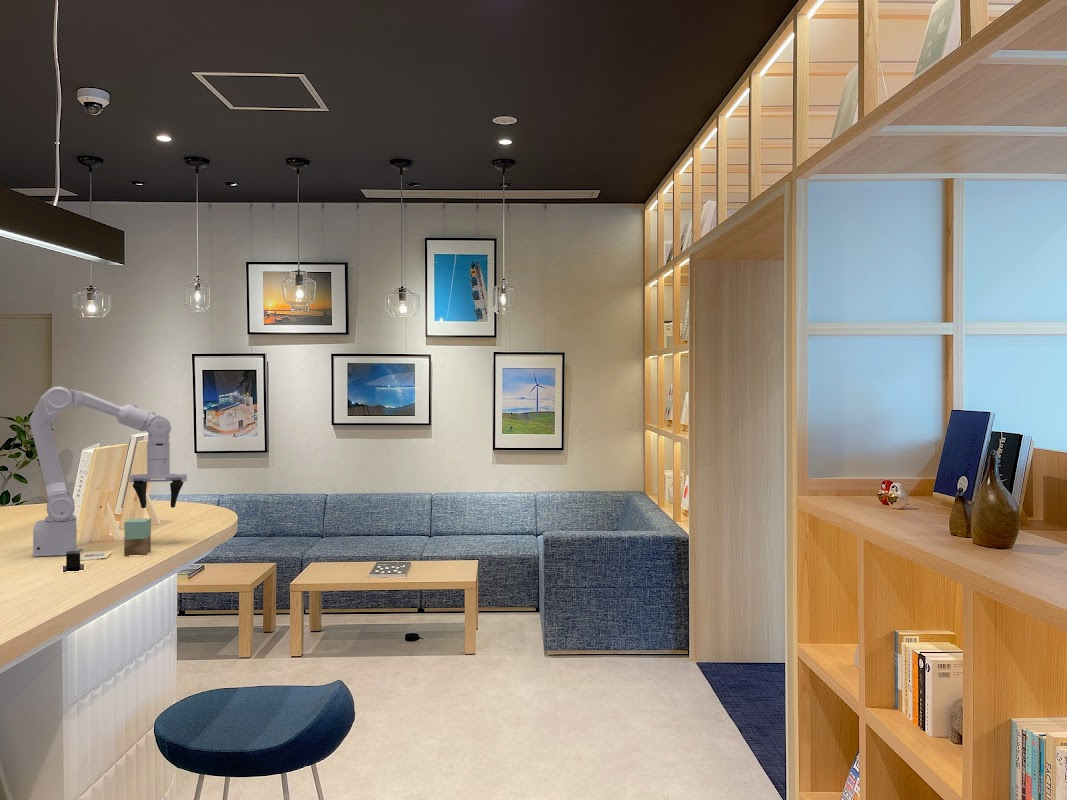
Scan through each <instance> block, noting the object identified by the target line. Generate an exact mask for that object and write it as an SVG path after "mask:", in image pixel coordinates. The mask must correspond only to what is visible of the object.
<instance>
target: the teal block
mask: <svg viewBox="0 0 1067 800" xmlns="http://www.w3.org/2000/svg"><path fill="white" fill-rule="evenodd" d="M123 527H124V539H146V538H147V537H149V536H151V537H152V518H130V519H128V520H126V521H124V526H123Z"/></svg>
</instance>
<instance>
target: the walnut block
mask: <svg viewBox="0 0 1067 800" xmlns="http://www.w3.org/2000/svg"><path fill="white" fill-rule="evenodd" d="M151 537H152V535H151V536H149V537H147V538H146V539H125V538H124V541H123V543H124V544H123V545H124V546H123V547H124V553H123V554H124V555H123V556H124V557H130V556H129V555H145V556H147V555H148V554H150V553H151V552H152V550H151V549H152V547H151V544H152V543H151V542H152V540H151V539H152V538H151ZM150 551H151V552H150ZM149 552H150V553H149ZM147 553H148V554H147ZM146 554H147V555H146Z"/></svg>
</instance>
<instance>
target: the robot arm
mask: <svg viewBox="0 0 1067 800" xmlns="http://www.w3.org/2000/svg"><path fill="white" fill-rule="evenodd" d="M37 401H38V402H37V404H36V405H35V408H34V409H33V411H32V414H31V416H30V418H29V427H30V431H31V434H32V438H33V442H34V444H35V449H36V454H37V457H38V462H39V465H40V470H41V473H42V477H43V478H42V479H43V481H44V485H45V490H46V495H47V498H48V499H47V503H46V513H47V516H45V518H44V519H43V520H42V519H41V520H37V521H36V522H35V523H34V526H33V531H32V553H33V554H31V557H53V556H54V557H55V556H57V557H58V556H66V553H67V551H77V550H80V551H81V550H83V547H77V544H78V543H77V531H78V529H77V525H78V524H77V522H78V521H77V516H76V515H74V512H75V509H76V505H75V499H74V498H73V496H72V495H71V494H70V493H69V491H68V488H67V485H66V481H65V477H64V473H63V469H62V465H61V460H60V457H59V452H58V448H57V445H56V440H55V436H54V432H53V429H52V423H53V422H54V421H55V419H56V418H57V417H58V415H59V414H61V413H62V412H64V411H65V410H66V409H69V408H70V406H71V405H72V404H73V405H72V407H73V408H83V407H86V408H90V409H92V410H95V411H98V412H101V413H105V414H108V415H109V416H110V415H111V416H112V417H116V418H117V421H118V423H119V424H120V425H123V426H125V427H129V428H131V429H134V430H137V431H139V432H143V433H144V432H147V433H148V434H147V443H146V472H147V473H146V474H145V473H143V474H142V473H141V474H131V475H129V478H128V481H129V483H133V484H132V488H133V489H134V490H135V492H136V495H137V498H138V499H139V503H140V508H141V509H146V508H147V487H148V486H147V485H148V483H155V482H158V483H161V482H162V483H163V482H164V483H165V482H170V483H169V486H170V508H171V509H174V508H175V507H176V504H177V499H178V496H179V493H180V491H181V489H182V487H183V485H184V483H185V482H187V481H188V474H187V473H171V471H170V468H171V466H170V465H171V464H170V462H171V460H170V459H171V450H170V449H171V447H170V445H171V444H170V433H171V431H172V426H171V422H170V421H169V420H168V418H167V417H164V416H161V415H158V414H157V413H156V412H155V411H151V412H150V411H148V410H146V409H143V408H140V407H139V405H137V404H135V403H133V404H130V403H129V404H124V405H123V406H120V405H117V404H115V403H114V402H111V401H108V400H105V399H103V398H100V397H98V396H96V395H94V394H91V393H88V392H85V391H81V390H76V389H72V388H71V389H69V388H67V387H63V386H53V387H51V388H49V389H48V390H46V391H45V392H44V393H43V394H42V395H41V396H40V398H39V400H37ZM156 414H157V415H156Z"/></svg>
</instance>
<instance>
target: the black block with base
mask: <svg viewBox="0 0 1067 800" xmlns="http://www.w3.org/2000/svg"><path fill="white" fill-rule="evenodd" d="M65 556H66V558H65V559H66V561H65V563H66V566H64V565H62V566H63V572H66V571H79V570H84V564H85V563H81V561H80V556H81V550H77V551H67V553H66V555H65Z"/></svg>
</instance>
